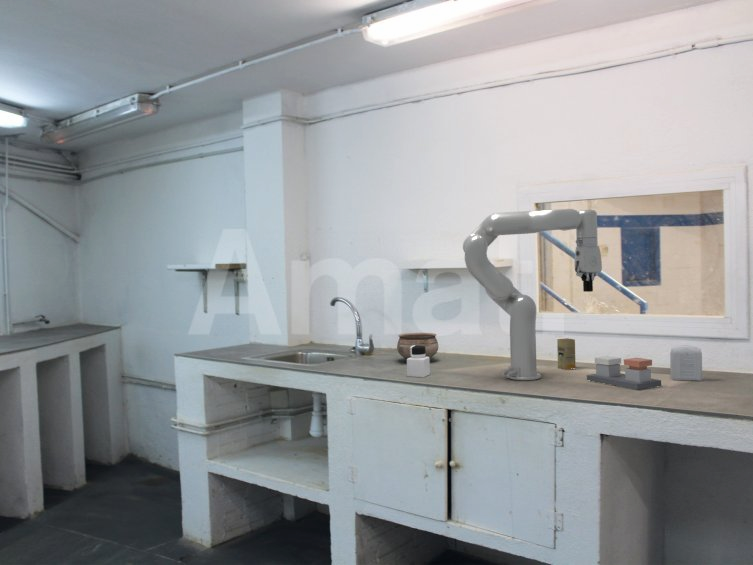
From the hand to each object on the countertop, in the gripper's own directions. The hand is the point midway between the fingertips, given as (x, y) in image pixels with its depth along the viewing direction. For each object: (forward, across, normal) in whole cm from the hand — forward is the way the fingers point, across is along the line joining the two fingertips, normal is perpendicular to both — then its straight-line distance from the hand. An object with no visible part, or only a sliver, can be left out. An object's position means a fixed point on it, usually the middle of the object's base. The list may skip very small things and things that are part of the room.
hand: (588, 291), depth 236 cm
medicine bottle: (+32, -51, +41) cm, 73 cm away
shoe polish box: (+32, +5, +17) cm, 37 cm away
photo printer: (+32, +20, -26) cm, 46 cm away
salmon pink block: (+29, -2, -23) cm, 37 cm away
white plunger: (+30, -2, -11) cm, 32 cm away
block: (+32, -2, -17) cm, 36 cm away
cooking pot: (+32, -32, +72) cm, 85 cm away
